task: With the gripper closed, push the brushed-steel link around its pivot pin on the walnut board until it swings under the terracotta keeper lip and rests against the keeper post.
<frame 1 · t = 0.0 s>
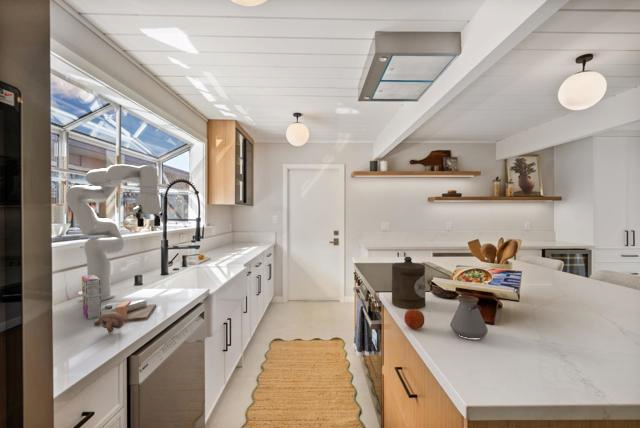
hand: (149, 226, 141), 37 cm above the countertop, tool pointing down, fingers open, 9 cm apart
wooden container: (408, 304, 134), on the countertop
fruit: (414, 329, 106), on the countertop
candy bar box: (91, 315, 125), on the countertop
link: (124, 306, 125), point 4 cm above the countertop, hinge at 45.0°
keeper: (124, 317, 121), resting on board
board: (128, 315, 124), on the countertop
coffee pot: (471, 342, 95), on the countertop
mushroom: (111, 333, 105), on the countertop
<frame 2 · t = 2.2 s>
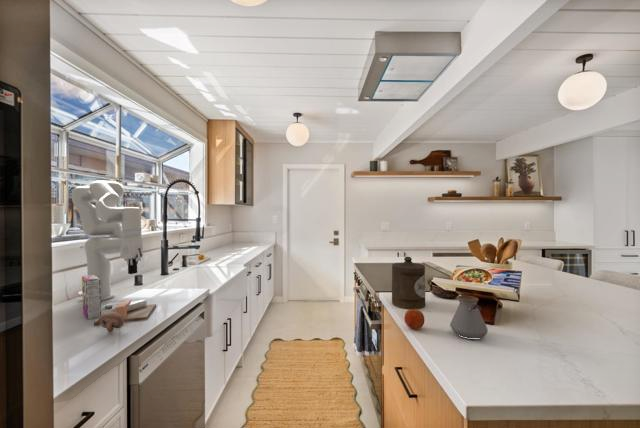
hand: (132, 273, 134), 16 cm above the countertop, tool pointing down, fingers closed
nothing on the countertop moved.
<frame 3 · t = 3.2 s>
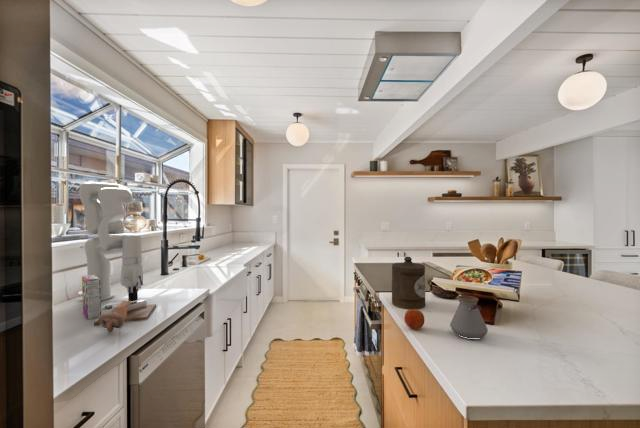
hand: (133, 300, 134), 3 cm above the countertop, tool pointing down, fingers closed
nothing on the countertop moved.
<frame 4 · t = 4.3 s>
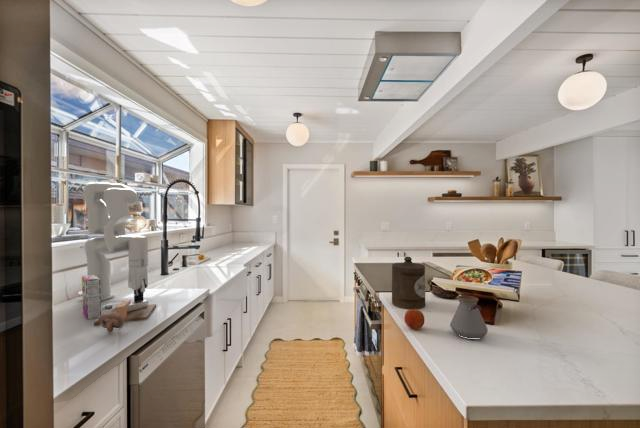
hand: (138, 303, 132), 3 cm above the countertop, tool pointing down, fingers closed
link: (125, 306, 125), point 4 cm above the countertop, hinge at 40.5°, touching gripper
everything else where it was.
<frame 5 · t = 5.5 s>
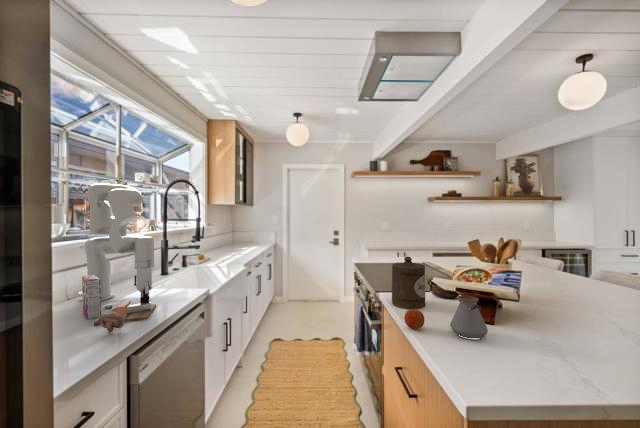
hand: (144, 305, 130), 2 cm above the countertop, tool pointing down, fingers closed
link: (127, 307, 123), point 4 cm above the countertop, hinge at 19.5°, touching gripper
everything else where it was.
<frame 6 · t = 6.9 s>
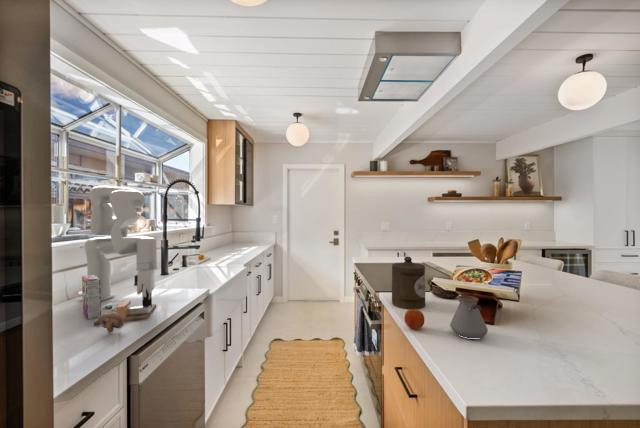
hand: (147, 308, 126), 2 cm above the countertop, tool pointing down, fingers closed
link: (126, 309, 121), point 4 cm above the countertop, hinge at -3.8°, touching gripper
everything else where it was.
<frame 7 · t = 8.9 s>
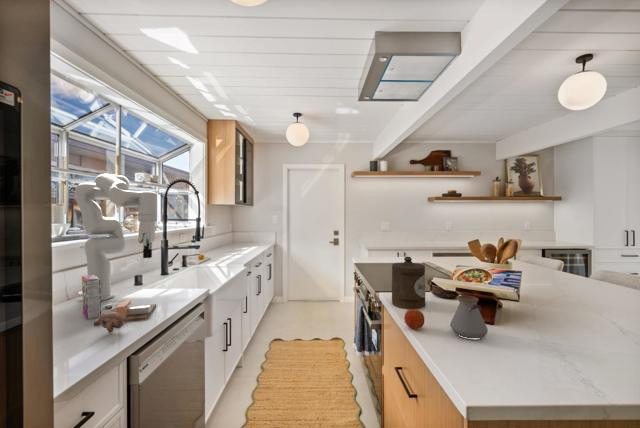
hand: (147, 257, 135), 23 cm above the countertop, tool pointing down, fingers closed
link: (126, 309, 121), point 4 cm above the countertop, hinge at -4.1°, touching keeper
everything else where it was.
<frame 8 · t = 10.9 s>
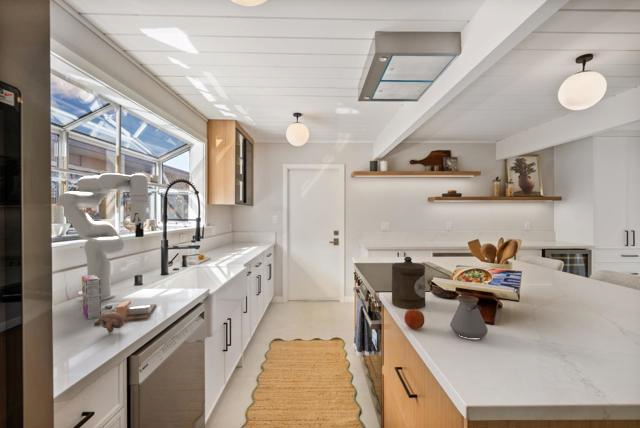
hand: (139, 236, 143), 32 cm above the countertop, tool pointing down, fingers closed
nothing on the countertop moved.
at the end: link at -4° (first picture: +45°) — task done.
